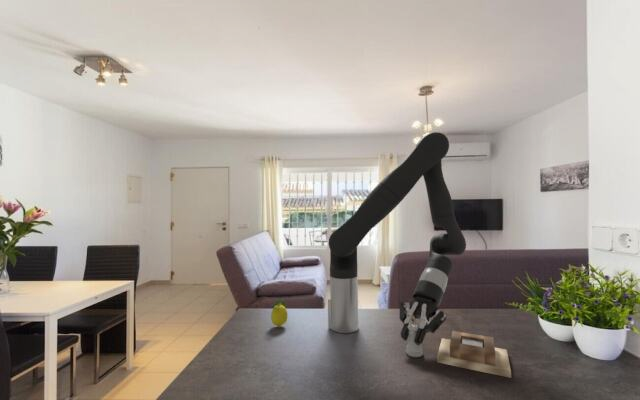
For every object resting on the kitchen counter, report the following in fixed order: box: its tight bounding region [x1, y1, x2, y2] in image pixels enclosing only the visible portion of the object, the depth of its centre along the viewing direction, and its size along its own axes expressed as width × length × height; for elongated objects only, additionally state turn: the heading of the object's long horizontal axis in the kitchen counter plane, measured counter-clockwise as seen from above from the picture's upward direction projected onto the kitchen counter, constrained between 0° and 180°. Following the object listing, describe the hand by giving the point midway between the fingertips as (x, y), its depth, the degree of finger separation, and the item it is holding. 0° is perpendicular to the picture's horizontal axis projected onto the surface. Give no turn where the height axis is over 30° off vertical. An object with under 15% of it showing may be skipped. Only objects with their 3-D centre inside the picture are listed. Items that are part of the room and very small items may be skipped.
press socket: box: [436, 330, 512, 379], centre depth 77 cm, size 16×12×4 cm
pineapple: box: [270, 299, 288, 328], centre depth 100 cm, size 7×6×10 cm
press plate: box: [462, 338, 483, 347], centre depth 77 cm, size 5×5×1 cm
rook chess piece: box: [405, 322, 424, 358], centre depth 80 cm, size 4×4×8 cm
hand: (410, 341), depth 79 cm, fingers closed on rook chess piece, 3 cm apart
